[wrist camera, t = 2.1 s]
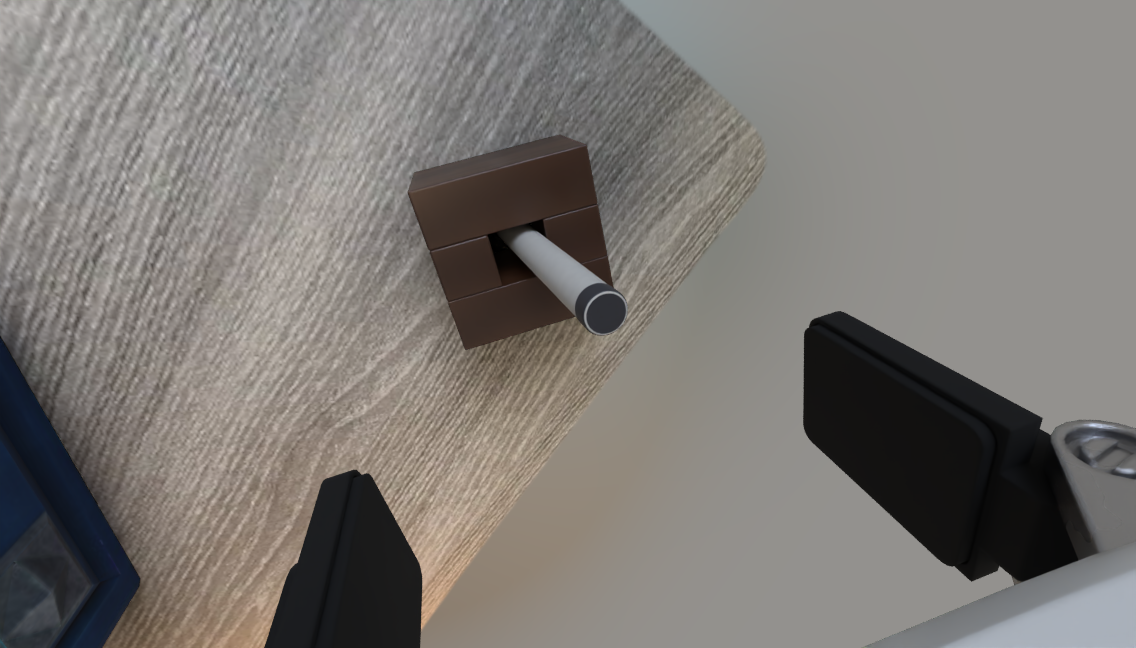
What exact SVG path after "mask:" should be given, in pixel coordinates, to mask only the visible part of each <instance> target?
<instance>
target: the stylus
mask: <svg viewBox="0 0 1136 648" xmlns="http://www.w3.org/2000/svg"><path fill="white" fill-rule="evenodd" d="M496 233H497V235H498V236H499V237H500V238H501V239H502V240H503V241H504V242H505V243H506V244H507V245H508V246H509V247H510V248H511V250H512V251H513V252H514V253H515V254H516V255H517V256H518V257H519V258H520V259H521V260H522V261H523V262H524V263H525V264H526V265H527V266H528V267H529V268H530V269H531V270H532V271H533V273H534V274H535V275H536V276H537V277H538V278H539V279H540V280H541V281H542V282H543V283H544V284H545V285H546V286H547V287H548V288H549V289H550V290H551V291H552V292H553V293H554V295H555V296H556V297H557V298H558V299H559V300H560V301H561V302H562V303H563V304H564V305H565V306H566V307H567V308H568V309H569V310H570V311H571V312H572V313H573V314H574V315H575V316H576V318H577V319H578V320H579V322H580V323H581V324H582V325H583V326H584V327H585V328H586V329H587V330H588V331H589V332H591V333H592V334H595V335H600V336H603V335H609V334H611V333H614V332H615V331H617V330H618V329H619V328H620V327H621V326H622V325H623V323H624V322H625V320H626V317H627V313H628V307H627V302H626V299H625V298H624V296H623V295H622V294H621V293H620V292H618V291H617V290H616V289H614V288H613V287H612V286H610V285H608V284H606V283H605V282H604V281H602V280H601V279H600V278H598V277H597V276H596V275H594V274H593V273H592V272H591V271H589V270H588V269H587V268H585V267H584V266H583V265H581V264H580V263H579V262H577V261H576V260H575V259H573V258H572V257H571V256H569V255H568V254H567V253H565V252H564V251H563V250H561V249H560V248H559V247H557V246H556V245H555V244H553V243H552V242H551V241H549V240H548V239H547V238H545V237H544V236H543V235H541V234H540V233H539V232H537V231H536V230H535V229H533V228H532V227H531V226H529V225H528V224H523V225H520V226H516V227H513V228H509V229H506V230H502V231H498V232H496Z"/></svg>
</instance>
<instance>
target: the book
mask: <svg viewBox="0 0 1136 648" xmlns="http://www.w3.org/2000/svg"><path fill="white" fill-rule="evenodd" d="M139 583H140V578H139V576H138V575H137V573H136V571H135V569H134V568H133V566H132V564H131V562H130V561H129V559H128V557H127V556H126V554H125V552H124V550H123V549H122V547H121V545H120V543H119V542H118V540H117V538H116V536H115V535H114V533H113V531H112V530H111V528H110V526H109V524H108V523H107V521H106V519H105V517H104V516H103V514H102V512H101V510H100V509H99V507H98V505H97V504H96V502H95V500H94V498H93V497H92V495H91V493H90V491H89V490H88V488H87V486H86V485H85V483H84V481H83V479H82V478H81V476H80V474H79V472H78V471H77V469H76V467H75V465H74V464H73V462H72V460H71V459H70V457H69V455H68V453H67V452H66V450H65V448H64V446H63V445H62V443H61V441H60V440H59V438H58V436H57V434H56V433H55V431H54V429H53V427H52V426H51V424H50V422H49V420H48V419H47V417H46V415H45V414H44V412H43V410H42V408H41V407H40V405H39V403H38V401H37V400H36V398H35V396H34V395H33V393H32V391H31V389H30V388H29V386H28V384H27V382H26V381H25V379H24V377H23V375H22V374H21V372H20V370H19V369H18V367H17V365H16V363H15V362H14V360H13V358H12V356H11V355H10V353H9V351H8V349H7V348H6V346H5V344H4V343H3V341H2V339H1V337H0V648H102V647H103V645H104V644H105V642H106V640H107V639H108V637H109V635H110V634H111V632H112V630H113V629H114V627H115V626H116V624H117V622H118V621H119V619H120V617H121V616H122V614H123V612H124V611H125V609H126V607H127V606H128V604H129V602H130V601H131V599H132V597H133V596H134V594H135V593H136V591H137V589H138V587H139Z"/></svg>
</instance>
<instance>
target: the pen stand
mask: <svg viewBox="0 0 1136 648" xmlns="http://www.w3.org/2000/svg"><path fill="white" fill-rule="evenodd" d="M408 195H409V198H410V201H411V203H412V206H413V209H414V212H415V214H416V217H417V220H418V222H419V225H420V228H421V231H422V233H423V236H424V239H425V241H426V244H427V247H428V249H429V250H430V255H431V258H432V260H433V263H434V266H435V269H436V271H437V274H438V277H439V279H440V282H441V285H442V288H443V290H444V293H445V296H446V298H447V300H448V304H449V307H450V310H451V312H452V315H453V318H454V320H455V323H456V326H457V329H458V331H459V334H460V337H461V339H462V342H463V345H464V348H465V350H468V349H471V348H474V347H477V346H481V345H484V344H487V343H491V342H494V341H497V340H500V339H504V338H507V337H510V336H514V335H517V334H520V333H523V332H527V331H530V330H533V329H536V328H540V327H543V326H546V325H550V324H553V323H556V322H559V321H563V320H566V319H569V318H573V317H576V316H575V315H574V314H573V313H572V312H571V311H570V310H569V309H568V308H567V307H566V306H565V305H564V304H563V303H562V302H561V301H560V300H559V299H558V298H557V297H556V296H555V295H554V293H553V292H552V291H551V290H550V289H549V288H548V287H547V286H546V285H545V284H544V283H543V282H542V281H541V280H540V279H539V278H538V277H537V276H536V275H535V274H534V273H533V271H532V270H531V269H530V268H529V267H528V266H527V265H526V264H525V263H524V262H523V261H522V260H521V259H520V258H519V257H518V256H517V255H516V254H515V253H514V252H513V251H512V250H511V248H510V249H507V250H503V251H500V252H496V253H493V251H492V248H491V245H490V241H489V238H488V234H491V233H495V232H498V231H502V230H506V229H509V228H513V227H516V226H520V225H523V224H527V223H532V227H533V229H535V230H536V231H537V232H539V233H540V234H541V235H543V236H544V237H545V238H547V239H548V240H549V241H551V242H552V243H553V244H555V245H556V246H557V247H559V248H560V249H561V250H563V251H564V252H565V253H567V254H568V255H569V256H571V257H572V258H573V259H575V260H576V261H577V262H579V263H580V264H581V265H583V266H584V267H585V268H587V269H588V270H589V271H591V272H592V273H593V274H594V275H596V276H597V277H598V278H600V279H601V280H602V281H604V282H605V283H606V284H608V285H610V286H612V287H613V282H612V277H611V271H610V266H609V260H608V256H607V250H606V245H605V240H604V234H603V229H602V224H601V218H600V213H599V208H598V205H597V197H596V192H595V186H594V181H593V176H592V170H591V165H590V160H589V154H588V149H587V145H586V144H583V143H581V142H578V141H575V140H573V139H570V138H567V137H565V136H562V135H556V136H552V137H548V138H545V139H541V140H537V141H533V142H529V143H525V144H522V145H518V146H514V147H510V148H506V149H503V150H499V151H495V152H491V153H487V154H483V155H480V156H476V157H472V158H468V159H464V160H461V161H457V162H453V163H449V164H445V165H441V166H438V167H434V168H430V169H426V170H422V171H418V172H415V173H414V174H413V177H412V180H411V184H410V187H409V190H408ZM613 288H614V287H613Z"/></svg>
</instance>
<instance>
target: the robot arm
mask: <svg viewBox="0 0 1136 648" xmlns="http://www.w3.org/2000/svg"><path fill="white" fill-rule="evenodd" d="M803 413H804V414H803V425H804V430H805V432H806V435H807V436H808V438H809V439H810V440H811V441H812V443H813V444H815V445H816V446H817V447H818V448H819V449H820V450H821V451H822V452H823V453H824V454H825V455H826V456H828V457H829V458H830V459H831V460H832V461H833V462H834V463H835V464H836V465H837V466H838V467H839V468H841V469H842V470H843V471H844V472H845V473H846V474H847V475H848V476H849V477H850V478H851V479H852V480H853V481H854V482H856V483H857V484H858V485H859V486H860V487H861V488H862V489H863V490H864V491H865V492H866V493H868V495H870V496H871V497H872V498H873V499H874V500H875V501H876V502H877V503H878V504H879V505H880V506H881V507H883V508H884V509H885V510H886V511H887V512H888V513H889V514H890V515H891V516H892V517H893V518H894V519H895V520H896V521H898V522H899V523H900V524H901V525H902V526H903V527H904V528H905V529H906V530H907V531H908V532H909V533H911V534H912V535H913V536H914V537H915V538H916V539H917V540H918V541H919V542H920V543H921V544H922V545H923V546H925V547H926V548H927V549H928V550H929V551H930V552H931V553H932V554H933V555H934V556H935V557H936V558H937V559H939V560H940V561H941V562H942V563H944V564H946V565H948V566H955V567H956V568H957V569H958V570H959V571H960V572H961V573H962V574H964V575H965V576H966V577H967V578H968V579H969V580H970V581H974V580H976V579H979V578H981V577H983V576H986V575H989V574H991V573H993V572H996V571H997V570H998V568H999V566H1000V567H1002V568H1003V569H1004V570H1005V571H1006V572H1008V573H1009V574H1010V575H1011V576H1012V579H1013V582H1014V586H1011V587H1009V588H1006V589H1004V590H1001V591H999V592H996V593H994V594H991V595H989V596H987V597H984V598H982V599H979V600H977V601H974V602H972V603H970V604H967V605H965V606H962V607H960V608H957V609H955V610H953V611H950V612H948V613H945V614H943V615H940V616H938V617H936V618H933V619H931V620H928V621H926V622H923V623H921V624H919V625H916V626H914V627H911V628H909V629H906V630H904V631H901V632H899V633H897V634H894V635H892V636H889V637H887V638H884V639H882V640H880V641H877V642H875V643H872V644H870V645H867V646H865V647H863V648H1136V428H1133V427H1129V426H1126V425H1122V424H1119V423H1112V422H1106V421H1100V420H1077V421H1071V422H1066V423H1064V424H1061V425H1059V426H1058V427H1056V428H1055V429H1054V431H1053V433H1052V434H1051V435H1049V434H1048V433H1046V432H1044V431H1042V430H1040V426H1041V422H1042V418H1041V417H1039V416H1038V415H1036V414H1034V413H1032V412H1030V411H1028V410H1026V409H1024V408H1022V407H1021V406H1019V405H1017V404H1015V403H1013V402H1011V401H1009V400H1007V399H1006V398H1004V397H1002V396H1000V395H998V394H996V393H994V392H992V391H991V390H989V389H987V388H985V387H983V386H981V385H979V384H978V383H976V382H974V381H972V380H970V379H968V378H966V377H964V376H963V375H961V374H959V373H957V372H955V371H953V370H951V369H949V368H948V367H946V366H944V365H942V364H940V363H938V362H936V361H934V360H933V359H931V358H929V357H927V356H925V355H923V354H921V353H919V352H917V351H916V350H914V349H912V348H910V347H908V346H906V345H905V344H903V343H901V342H899V341H897V340H895V339H893V338H891V337H890V336H888V335H886V334H884V333H882V332H880V331H878V330H876V329H875V328H873V327H871V326H869V325H867V324H865V323H863V322H861V321H860V320H858V319H856V318H854V317H852V316H850V315H848V314H846V313H844V312H841V311H838V312H834V313H831V314H828V315H824V316H821V317H818V318H815V319H814V320H812V321H811V323H810V325H809V328H807V329H806V330H805V333H804V411H803ZM421 606H422V573H421V568H420V565H419V562H418V560H417V558H416V557H415V555H414V553H413V551H412V549H411V547H410V546H409V544H408V542H407V540H406V538H405V536H404V535H403V533H402V531H401V529H400V527H399V525H398V524H397V522H396V520H395V518H394V516H393V515H392V513H391V511H390V509H389V507H388V505H387V504H386V502H385V500H384V498H383V496H382V494H381V493H380V491H379V489H378V487H377V485H376V483H375V482H374V480H373V478H372V477H371V475H370V474H364V475H361V474H360V472H358V471H357V470H351V471H348V472H345V473H342V474H339V475H336V476H333V477H330V478H327V479H325V480H324V481H323V482H322V484H321V487H320V491H319V494H318V497H317V501H316V504H315V507H314V511H313V514H312V517H311V520H310V524H309V527H308V530H307V534H306V537H305V540H304V544H303V547H302V550H301V554H300V557H299V560H298V563H297V564H295V565H294V566H293V567H292V568H291V569H290V571H289V573H288V576H287V578H286V581H285V584H284V587H283V590H282V594H281V597H280V600H279V603H278V606H277V609H276V613H275V616H274V619H273V622H272V625H271V628H270V632H269V635H268V638H267V641H266V644H265V647H264V648H420V635H421Z"/></svg>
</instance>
